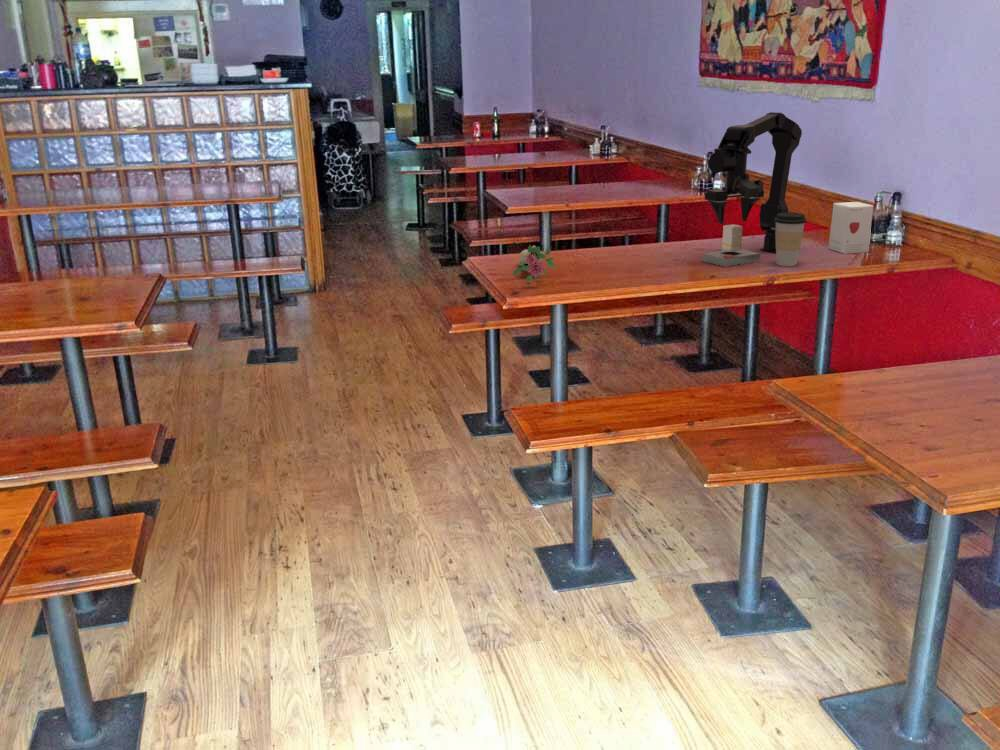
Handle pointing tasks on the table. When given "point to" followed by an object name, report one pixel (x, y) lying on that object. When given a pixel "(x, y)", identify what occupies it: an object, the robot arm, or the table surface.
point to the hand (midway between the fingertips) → (732, 222)
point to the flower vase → (534, 262)
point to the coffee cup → (788, 237)
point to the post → (732, 238)
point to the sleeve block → (730, 257)
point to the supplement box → (850, 227)
